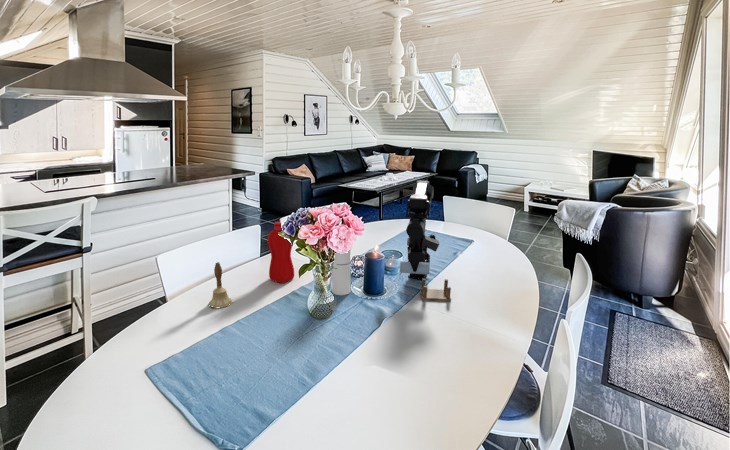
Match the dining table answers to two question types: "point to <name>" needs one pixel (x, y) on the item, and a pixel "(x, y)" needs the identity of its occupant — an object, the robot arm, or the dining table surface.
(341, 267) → the cylindrical container
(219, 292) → the hand bell
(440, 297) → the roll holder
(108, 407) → the dining table surface
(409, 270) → the cylinder
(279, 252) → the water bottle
